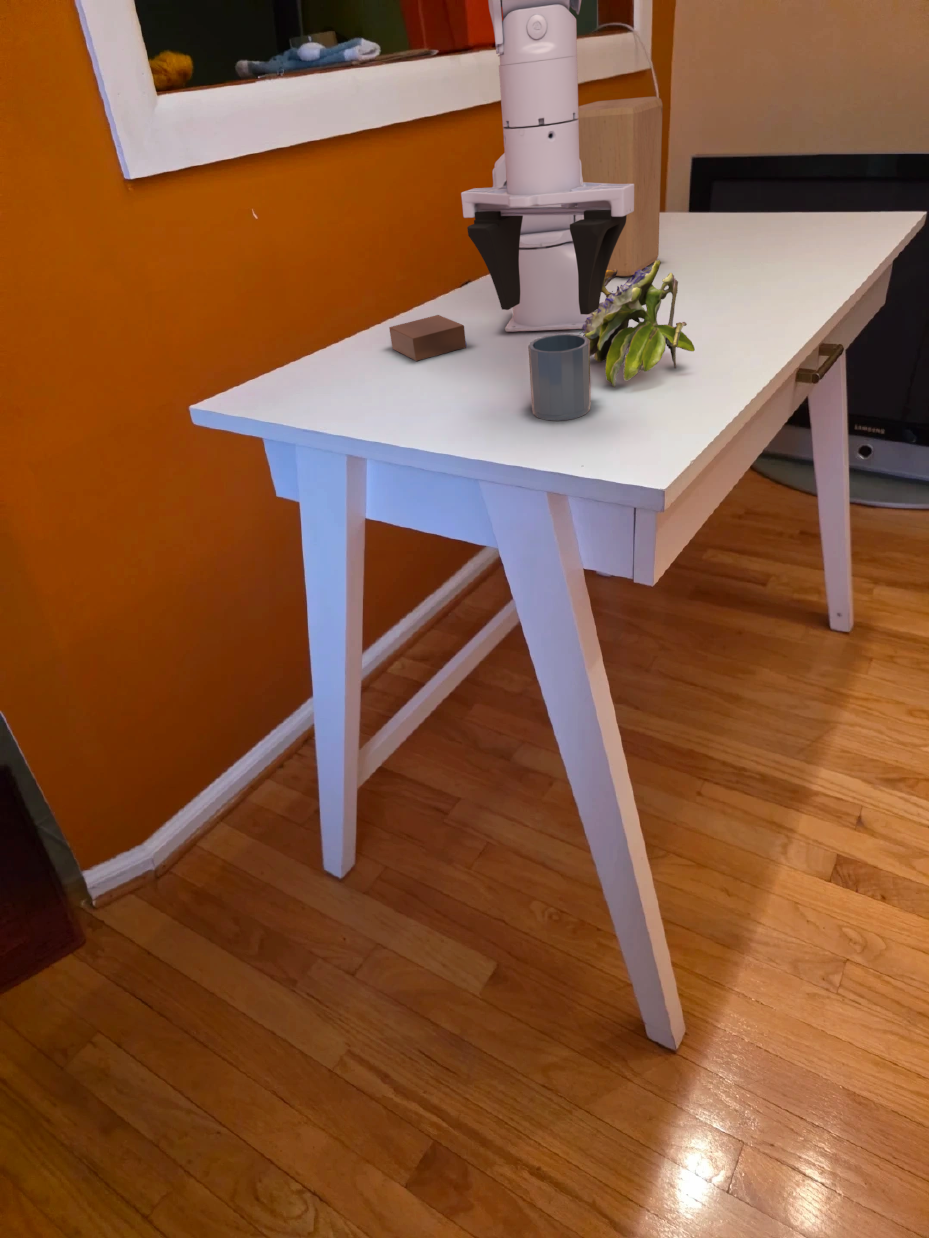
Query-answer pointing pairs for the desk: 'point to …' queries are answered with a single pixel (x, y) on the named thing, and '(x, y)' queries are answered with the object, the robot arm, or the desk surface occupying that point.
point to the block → (427, 337)
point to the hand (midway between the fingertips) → (549, 309)
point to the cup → (560, 376)
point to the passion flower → (644, 339)
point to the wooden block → (626, 170)
